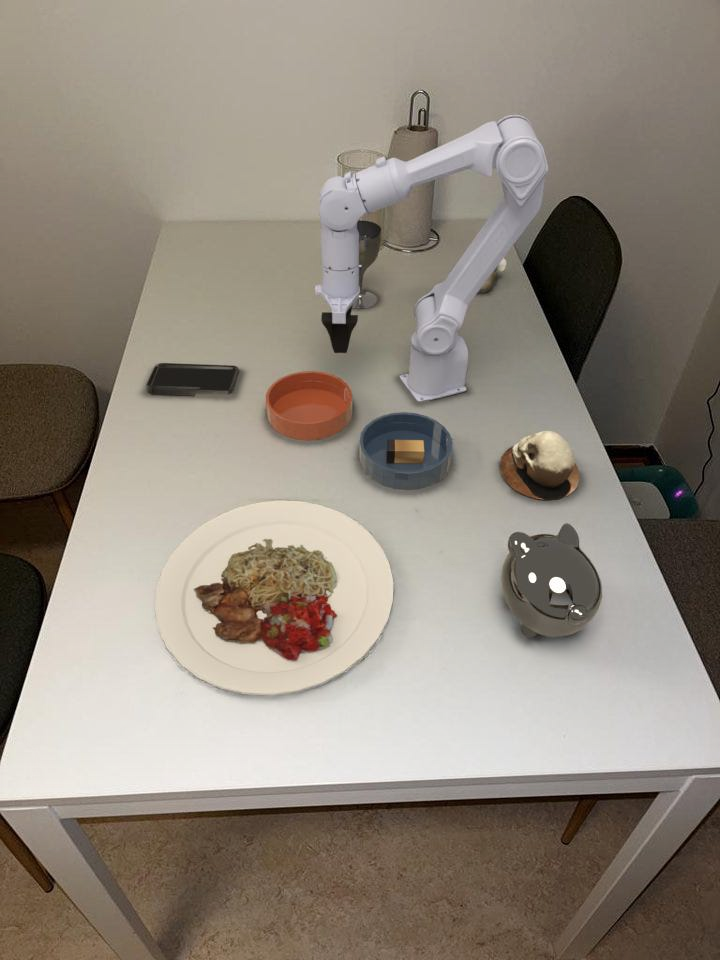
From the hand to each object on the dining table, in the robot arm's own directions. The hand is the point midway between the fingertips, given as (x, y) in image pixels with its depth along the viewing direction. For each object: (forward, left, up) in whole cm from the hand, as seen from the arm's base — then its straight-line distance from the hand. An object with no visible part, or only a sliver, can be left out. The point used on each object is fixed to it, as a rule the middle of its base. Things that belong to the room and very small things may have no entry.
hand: (341, 338), depth 114 cm
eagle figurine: (-41, -23, -10) cm, 48 cm away
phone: (+24, -10, -9) cm, 28 cm away
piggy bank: (-6, +54, -10) cm, 55 cm away
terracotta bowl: (+8, +6, -9) cm, 14 cm away
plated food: (+24, +39, -10) cm, 47 cm away
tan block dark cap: (-2, +22, -9) cm, 24 cm away
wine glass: (-14, -26, -10) cm, 31 cm away
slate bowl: (-2, +22, -9) cm, 24 cm away
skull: (-20, +32, -10) cm, 39 cm away
